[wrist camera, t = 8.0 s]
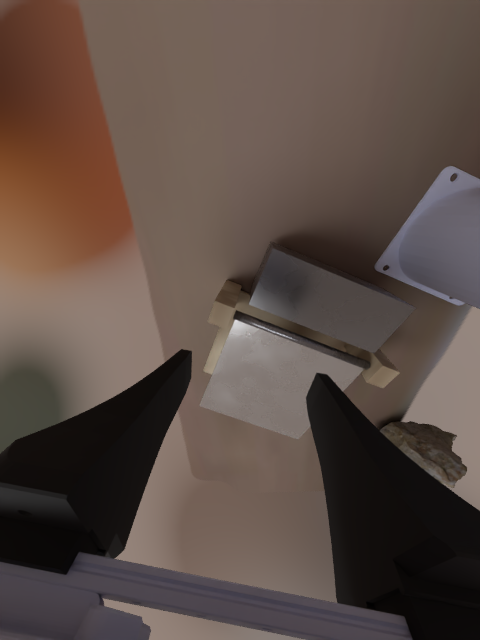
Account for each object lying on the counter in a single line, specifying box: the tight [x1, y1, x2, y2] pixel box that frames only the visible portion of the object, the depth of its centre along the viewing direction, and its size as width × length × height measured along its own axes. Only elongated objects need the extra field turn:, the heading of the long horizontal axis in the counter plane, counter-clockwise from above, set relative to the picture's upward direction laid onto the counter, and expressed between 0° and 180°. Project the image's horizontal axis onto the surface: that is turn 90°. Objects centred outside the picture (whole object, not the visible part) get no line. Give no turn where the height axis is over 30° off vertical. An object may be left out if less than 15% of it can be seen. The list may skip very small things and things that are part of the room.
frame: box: [203, 280, 400, 388], centre depth 20 cm, size 16×12×6 cm
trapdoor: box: [199, 242, 416, 439], centre depth 19 cm, size 12×18×4 cm
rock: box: [380, 421, 467, 488], centre depth 24 cm, size 11×6×10 cm
